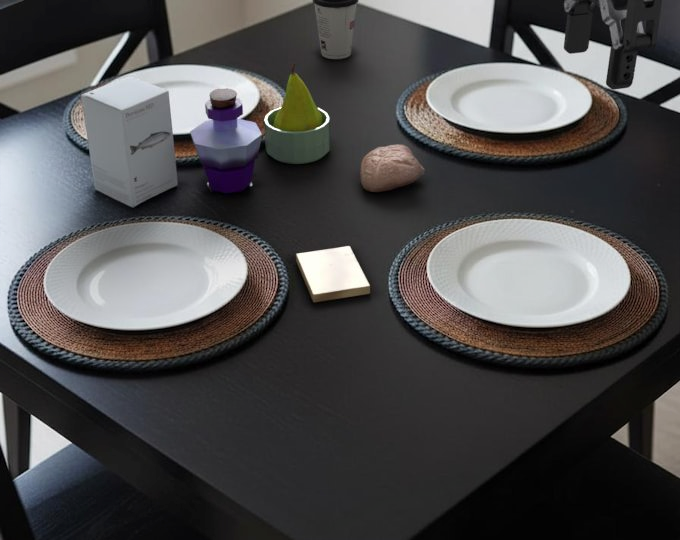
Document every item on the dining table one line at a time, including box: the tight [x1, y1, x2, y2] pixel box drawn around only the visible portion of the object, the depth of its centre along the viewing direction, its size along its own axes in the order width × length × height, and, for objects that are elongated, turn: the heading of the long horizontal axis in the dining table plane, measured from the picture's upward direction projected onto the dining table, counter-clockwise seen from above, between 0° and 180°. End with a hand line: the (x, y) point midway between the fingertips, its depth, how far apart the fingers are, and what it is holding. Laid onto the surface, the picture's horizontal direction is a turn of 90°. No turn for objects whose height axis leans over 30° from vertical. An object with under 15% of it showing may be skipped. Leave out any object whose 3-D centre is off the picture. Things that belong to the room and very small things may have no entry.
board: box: [295, 245, 371, 303], centre depth 110 cm, size 6×8×1 cm
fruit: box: [273, 61, 323, 132], centre depth 131 cm, size 6×6×12 cm
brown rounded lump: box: [359, 143, 425, 193], centre depth 126 cm, size 8×6×8 cm
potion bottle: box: [189, 88, 263, 196], centre depth 124 cm, size 9×9×12 cm
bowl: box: [263, 106, 331, 165], centre depth 133 cm, size 8×8×4 cm
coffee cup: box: [312, 0, 359, 60], centre depth 159 cm, size 7×7×10 cm
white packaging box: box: [80, 75, 179, 208], centre depth 123 cm, size 7×7×13 cm
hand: (596, 68), depth 95 cm, fingers open, 8 cm apart
